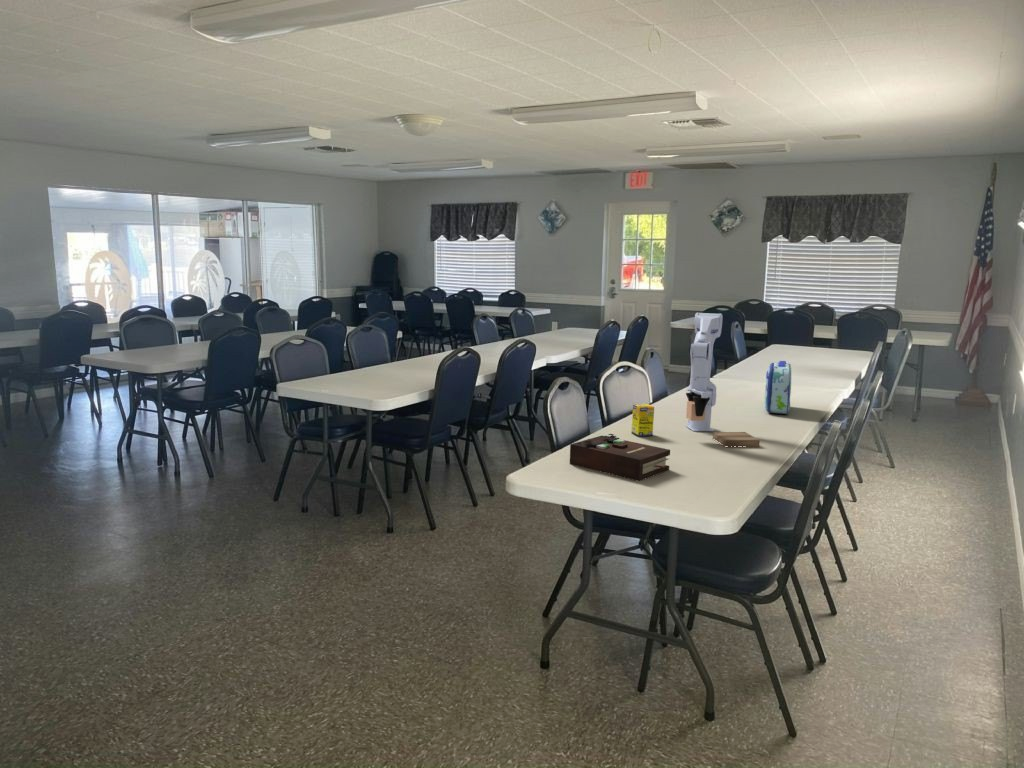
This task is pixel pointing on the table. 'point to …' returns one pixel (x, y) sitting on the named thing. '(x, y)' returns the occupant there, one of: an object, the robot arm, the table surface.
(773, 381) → the lunch box
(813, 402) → the table surface
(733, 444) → the walnut block
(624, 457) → the decorative book
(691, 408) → the terracotta block
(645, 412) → the supplement box
